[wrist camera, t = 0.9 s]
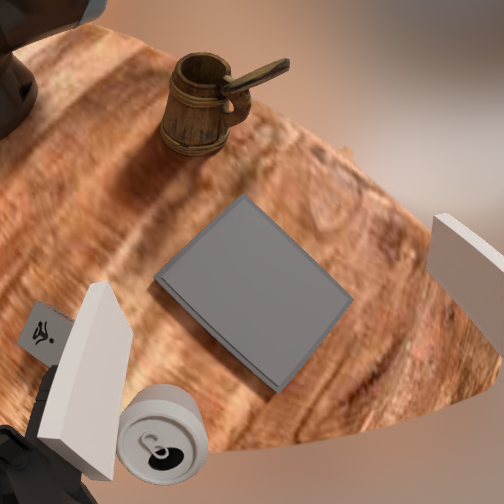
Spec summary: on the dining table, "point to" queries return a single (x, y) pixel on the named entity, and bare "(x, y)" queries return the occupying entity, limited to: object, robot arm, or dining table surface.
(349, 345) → the dining table surface
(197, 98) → the wooden mug
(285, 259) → the slate board
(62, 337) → the dice cube
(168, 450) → the can
